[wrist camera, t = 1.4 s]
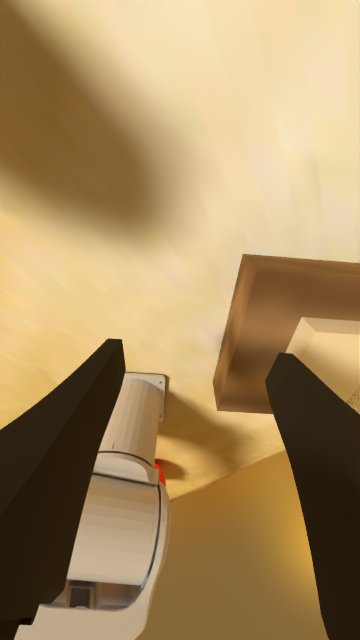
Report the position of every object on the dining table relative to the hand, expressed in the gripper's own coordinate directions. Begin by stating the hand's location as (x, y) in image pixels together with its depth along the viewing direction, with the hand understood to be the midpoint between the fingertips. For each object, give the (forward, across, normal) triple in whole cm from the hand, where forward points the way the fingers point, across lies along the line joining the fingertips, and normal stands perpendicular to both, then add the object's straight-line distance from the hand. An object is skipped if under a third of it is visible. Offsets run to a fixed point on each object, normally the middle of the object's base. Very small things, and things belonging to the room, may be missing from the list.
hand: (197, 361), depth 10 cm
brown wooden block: (+10, -10, +6) cm, 16 cm away
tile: (+6, -12, +6) cm, 14 cm away
